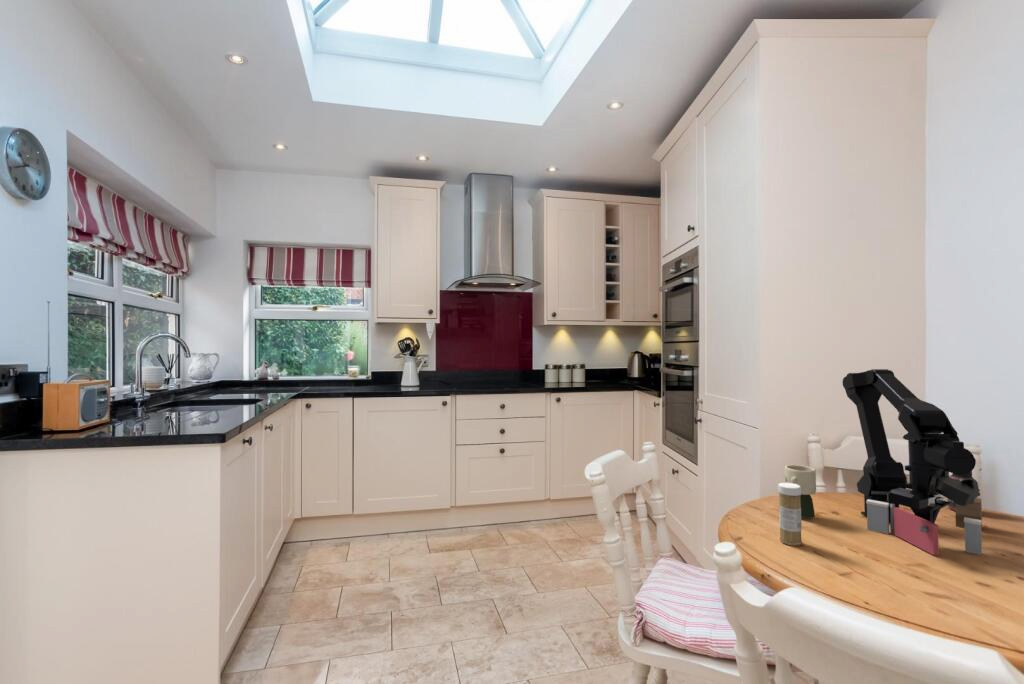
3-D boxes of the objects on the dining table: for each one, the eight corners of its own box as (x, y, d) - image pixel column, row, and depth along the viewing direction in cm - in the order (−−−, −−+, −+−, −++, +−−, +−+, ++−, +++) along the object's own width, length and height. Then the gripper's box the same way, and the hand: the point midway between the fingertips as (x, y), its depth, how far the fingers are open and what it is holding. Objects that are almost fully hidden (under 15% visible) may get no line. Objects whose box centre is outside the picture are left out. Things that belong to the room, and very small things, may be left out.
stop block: (981, 531, 113) (980, 502, 113) (956, 526, 116) (955, 498, 116) (982, 526, 116) (981, 498, 116) (957, 521, 119) (956, 494, 119)
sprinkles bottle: (789, 537, 110) (787, 481, 111) (807, 545, 106) (805, 486, 106) (774, 540, 109) (773, 483, 109) (792, 548, 104) (791, 488, 105)
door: (890, 534, 111) (889, 507, 111) (898, 534, 111) (898, 507, 111) (928, 555, 100) (928, 524, 100) (938, 555, 100) (937, 524, 100)
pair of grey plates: (866, 529, 115) (866, 500, 115) (868, 527, 116) (867, 498, 116) (982, 555, 100) (981, 522, 100) (982, 552, 101) (981, 519, 101)
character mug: (794, 508, 130) (793, 462, 131) (823, 515, 125) (822, 467, 125) (778, 517, 123) (777, 468, 124) (808, 525, 118) (807, 474, 118)
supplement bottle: (972, 516, 123) (971, 473, 123) (943, 509, 128) (942, 468, 129) (981, 512, 126) (980, 470, 126) (953, 505, 131) (952, 465, 131)
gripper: (945, 476, 95) (947, 553, 94) (994, 466, 101) (997, 537, 101) (884, 464, 105) (886, 533, 105) (933, 455, 112) (935, 520, 112)
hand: (927, 531), depth 105 cm, fingers closed
